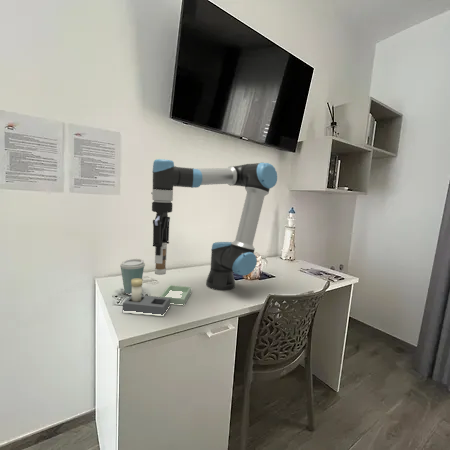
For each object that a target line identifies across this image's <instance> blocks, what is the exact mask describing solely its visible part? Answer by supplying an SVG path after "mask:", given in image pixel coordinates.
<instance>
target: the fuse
mask: <svg viewBox="0 0 450 450" xmlns="http://www.w3.org/2000/svg"><path fill="white" fill-rule="evenodd" d="M143 280H144V279H143V278H142V279H140V278H135V279H132V280H131V286H132V297H131V301H132V302H141V298H142V295H143V294H142V293H143V292H142V291H143V284H144V283H143V282H144V281H143Z"/></svg>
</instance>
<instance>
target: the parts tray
mask: <svg viewBox="0 0 450 450" xmlns="http://www.w3.org/2000/svg"><path fill="white" fill-rule="evenodd" d="M170 290H172V291H182V292H183V293H182V294H180V295H182V297H181V298H172V297H166V298H170V303H174V304H183V305H184V304H186V303H187V301H188V299H189V298H188V297H190V296H191V294H192V287H191V286H182V285H174V284H169V285H168V286H167V287H166V289H165V290H164V291H163V292H162V293H161V294H160V296H159V297H165V296H166V295H167V294H168V293H169V291H170ZM190 293H191V294H190ZM189 295H190V296H189ZM186 300H187V301H186ZM185 302H186V303H185ZM184 306H185V305H184Z"/></svg>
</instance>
